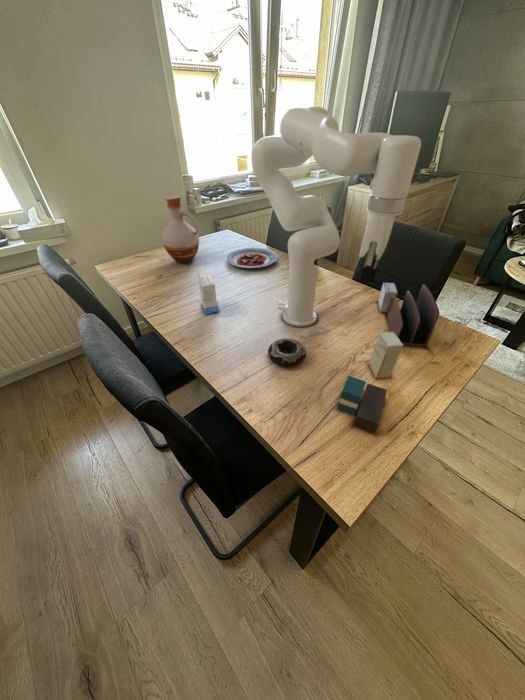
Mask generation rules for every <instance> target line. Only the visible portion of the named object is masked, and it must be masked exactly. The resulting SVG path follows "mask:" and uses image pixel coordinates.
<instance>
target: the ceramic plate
mask: <svg viewBox="0 0 525 700" xmlns="http://www.w3.org/2000/svg"><path fill="white" fill-rule="evenodd" d="M277 259H278V255H277V254H276V253H275V252H273V251H271V250H269V249H265V248H260V247H245V248H239V249H237V250H236V249H235V250H234V251H231V252H229V253H228V255H227V256H226V261H227V262H228V264H230V265H232V266H234V267H237V268H242V269H257V268H264V267H268V266H270V265H272V264H274V263H275V262H276V261H277Z"/></svg>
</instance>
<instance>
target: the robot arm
mask: <svg viewBox="0 0 525 700" xmlns="http://www.w3.org/2000/svg"><path fill="white" fill-rule="evenodd" d="M279 133H280V135H278V134H277V135H268V136H264V137H261V138H259V139H257V140H256V141H255V143H254V144H253V146H252V149H251V159H250V160H251V167H252V172H253V175H254V177H255V179H256V182H257V183H258V184H259V187H261V189H262V190H263V192H264V194H265V195H266V196H267V198H268V200H269V202H270V205H271V207H272V209H273V211H274V214H275V215H276V217H277V219H278V222H279V224H280V225H281V228H282V229H283V230H285V231H286V232H294V233H292V234H291V236H290V237H289V239H288V241H287V253H288V263H289V264H288V266H289V268H288V269H289V270H288V288H287V290H288V291H287V301H286V302H284V301H282V300H278V302H277V306H278V307H277V309H278V310H281V311H283V312H282V319H283V321H284V322H285V323H287V324H288V325H291V326H293V327H308V326H311V325H313V324H314V323H315V322H316V321H317V319H318V316H317V313H316V311H315V310H314V308H315V299H316V293H317V292H316V291H317V284H318V274H319V273H318V269H317V266H316V265H315V261H316V260H318V259H321V258H324V257H328V256H330V255H332V254H334V253H336V252H337V251H338V249H339V247H340V243H341V238H340V233H339V230H338V228H337V225H336V224H335V221H334V219H333V217H332V215H331V213H330V211H329V209H328V207H327V205H326V203H325V202H324V200H323V199H322V198H321V197H320V196H318V195H314V194H311V195H310V194H309V195H302V196H301V195H299V194H298V193H297V191H296V189H295V187H294V184H293V183H292V181H291V180H290V179H289V178H288V177H287V176H286V175H285V174H284V173H283V172H281V170H284V169H292V168H297V167H298V168H299V167H300V166H303V164H305V163H306V162H307V161H308V160H309V159H310V158H311V157H312V156H313V160H314V161H315V163H316V164H317V166H318V167H319V168H322V169H323V170H325V171H328V172H330V173H332V174H335V175H336V176H340V177H353V176H359V175H370V174H374V176H373V179H372V184H371V190H370V194H369V199H368V204H367V208H366V212H367V213H369V217H368V220H367V223H366V227H365V232H364V235H363V238H362V243H361V246H360V250H359V254H358V256H359V258H364V257H365V261H364V265H363V268H362V272H361V275H360V281H361V282H364V283H368V284H369V283H370V284H373V283H374V281H375V278H376V276H377V271H378V268H379V266H378V264H379V261H380V259H381V258H382V257H383V254H384V252H385V251H386V248H387V245H388V242H389V240H390V236H391V234H392V230H393V226H394V224H395V219H396V217H397V216H400V215H402V214H403V212H404V207H405V204H406V201H407V197H408V193H409V190H410V187H411V183H412V179H413V175H414V172H415V169H416V165H417V162H418V158H419V155H420V151H421V148H422V140H421V138H420V137H419V136H415V135H407V134H401V135H395V134H394V135H393V134H390V133H387V132H381V131H380V132H378V131H377V132H356V133H349V132H344V131H340V128H339V124H338V120H336V118H335V117H333V116H332V115H330V113H329V111H328V110H327V109H326V108H324V107H322V106H294V107H290V109H288V110H286V111H285V112H284V114H283V115H282V117H281V118H280V122H279ZM295 231H296V232H295Z"/></svg>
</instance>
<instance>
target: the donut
mask: <svg viewBox="0 0 525 700" xmlns="http://www.w3.org/2000/svg"><path fill="white" fill-rule="evenodd" d="M285 352H290V353H285ZM267 353H268V357H269V359H270V361H271V362H272V363H273V364H275V365H277V366H279V367H282V368H294V367H296V366H298V365H301V364H302V363H303V362H304V360H305V359H306V356H307V351H306V347H305V346H304V344H303V343H302V342H300V341H298V340H296V339H294V338H289V337H284V338H279V339H276V340H275V341H273V342H272V343H271V344H270V345H269V346H268V350H267Z"/></svg>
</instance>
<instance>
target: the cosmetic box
mask: <svg viewBox="0 0 525 700" xmlns="http://www.w3.org/2000/svg"><path fill="white" fill-rule="evenodd" d="M403 347H404V345H403V344H402V343H401V341H400V340H399V338H398V337H397V336H396V334H395V333H394V332H391V331H385V332H379V333H378V336H377V340H376V341H375V345H374V347H373V351H372V354H371V356H370V359H369V362H368V366H369V368H370V369H371V371H372V373H373V375H374V377H375V378H376V379H381V378H382V379H383V378H390V377H391V376H392V372H393V369H395V366H396V363H397V362H398V361H397V360H399V359H398V358H399V357H400V354H401V352H402V349H403Z"/></svg>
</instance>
